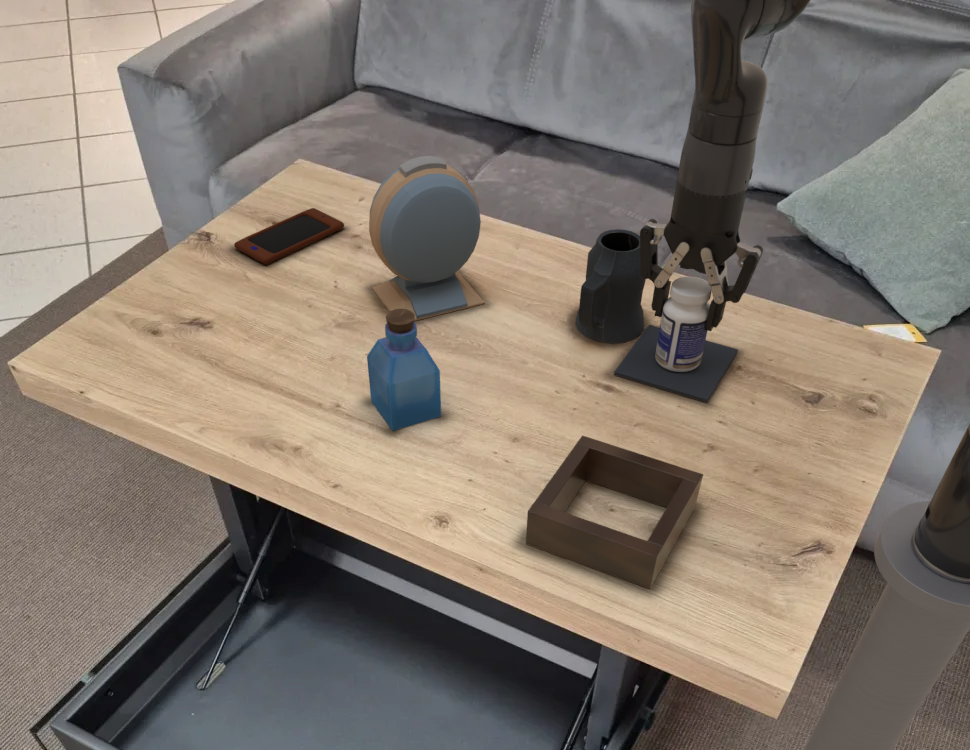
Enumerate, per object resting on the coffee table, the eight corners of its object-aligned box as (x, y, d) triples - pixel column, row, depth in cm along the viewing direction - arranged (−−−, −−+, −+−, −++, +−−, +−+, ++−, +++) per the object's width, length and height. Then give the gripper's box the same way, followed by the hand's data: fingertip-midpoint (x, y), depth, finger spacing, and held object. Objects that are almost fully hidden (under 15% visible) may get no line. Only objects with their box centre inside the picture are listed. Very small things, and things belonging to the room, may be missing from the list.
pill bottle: (706, 354, 117) (722, 280, 110) (692, 378, 114) (709, 303, 106) (662, 343, 119) (675, 268, 111) (647, 366, 115) (660, 291, 108)
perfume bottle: (392, 431, 107) (385, 338, 98) (371, 402, 111) (362, 309, 102) (441, 416, 109) (438, 323, 100) (418, 388, 113) (414, 296, 104)
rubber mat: (737, 352, 119) (738, 349, 118) (707, 403, 112) (707, 399, 111) (648, 327, 122) (649, 324, 122) (613, 375, 115) (614, 371, 115)
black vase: (596, 297, 126) (606, 215, 118) (656, 319, 123) (671, 236, 115) (550, 338, 120) (556, 254, 111) (612, 362, 117) (623, 277, 108)
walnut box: (695, 506, 100) (703, 474, 96) (650, 589, 92) (657, 556, 89) (578, 468, 104) (582, 435, 100) (525, 543, 96) (527, 511, 93)
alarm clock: (461, 268, 131) (460, 134, 117) (491, 302, 125) (494, 165, 112) (365, 290, 127) (352, 153, 113) (392, 326, 121) (382, 187, 108)
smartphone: (232, 242, 132) (312, 205, 140) (233, 248, 133) (313, 212, 140) (264, 259, 129) (345, 221, 137) (265, 266, 130) (345, 228, 137)
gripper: (637, 175, 99) (617, 320, 112) (769, 206, 95) (733, 352, 108) (661, 148, 103) (640, 291, 116) (789, 177, 99) (752, 321, 112)
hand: (685, 320), depth 112 cm, fingers closed on pill bottle, 5 cm apart
